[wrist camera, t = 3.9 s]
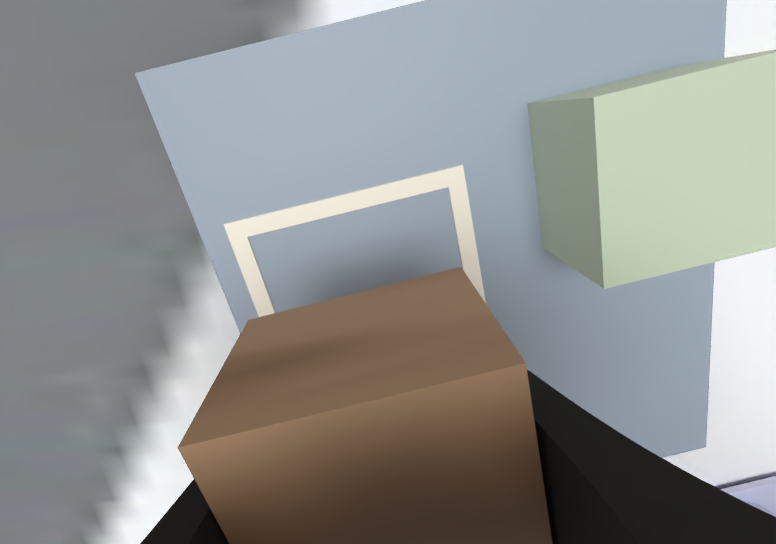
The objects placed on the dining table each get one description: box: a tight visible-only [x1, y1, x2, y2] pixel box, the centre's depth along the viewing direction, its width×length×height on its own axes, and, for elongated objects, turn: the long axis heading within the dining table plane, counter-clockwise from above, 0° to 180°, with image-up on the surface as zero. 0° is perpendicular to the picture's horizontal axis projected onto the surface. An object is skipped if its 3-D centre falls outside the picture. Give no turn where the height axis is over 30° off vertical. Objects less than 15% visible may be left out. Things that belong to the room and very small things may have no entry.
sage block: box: [527, 50, 776, 289], centre depth 13 cm, size 5×5×4 cm
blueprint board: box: [135, 0, 727, 458], centre depth 16 cm, size 20×18×1 cm
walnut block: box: [178, 267, 553, 544], centre depth 9 cm, size 5×5×4 cm
